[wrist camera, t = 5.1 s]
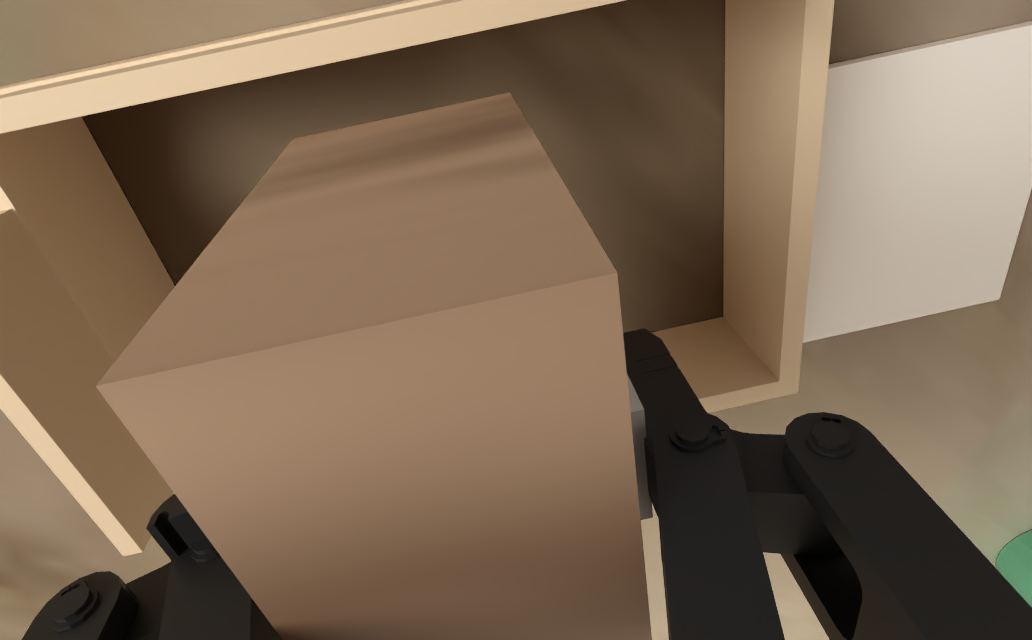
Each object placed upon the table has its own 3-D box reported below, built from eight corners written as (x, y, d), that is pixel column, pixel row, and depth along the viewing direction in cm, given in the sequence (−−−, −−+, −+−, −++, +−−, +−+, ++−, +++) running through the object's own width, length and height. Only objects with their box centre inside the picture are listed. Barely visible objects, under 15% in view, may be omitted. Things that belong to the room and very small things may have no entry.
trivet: (804, 69, 21) (813, 71, 21) (1066, 13, 21) (1082, 14, 21) (784, 338, 27) (791, 345, 27) (988, 293, 28) (999, 299, 27)
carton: (33, 79, 19) (-230, 141, 11) (749, -73, 19) (949, -109, 11) (239, 437, 27) (165, 610, 19) (740, 327, 27) (853, 455, 19)
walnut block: (292, 139, 13) (93, 386, 5) (509, 92, 13) (617, 273, 5) (412, 451, 18) (399, 797, 11) (566, 418, 18) (661, 738, 11)
